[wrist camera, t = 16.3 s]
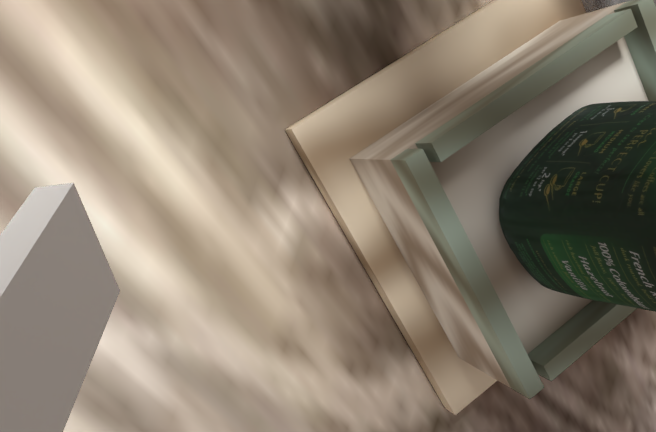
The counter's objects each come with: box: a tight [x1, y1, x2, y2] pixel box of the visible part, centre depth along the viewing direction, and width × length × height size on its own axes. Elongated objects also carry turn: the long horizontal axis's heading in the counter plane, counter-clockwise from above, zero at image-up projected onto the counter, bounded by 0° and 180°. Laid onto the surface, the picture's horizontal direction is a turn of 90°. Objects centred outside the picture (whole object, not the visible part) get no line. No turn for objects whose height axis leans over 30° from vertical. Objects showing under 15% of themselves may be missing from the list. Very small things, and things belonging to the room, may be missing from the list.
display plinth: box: [285, 0, 656, 415], centre depth 34 cm, size 20×20×8 cm
